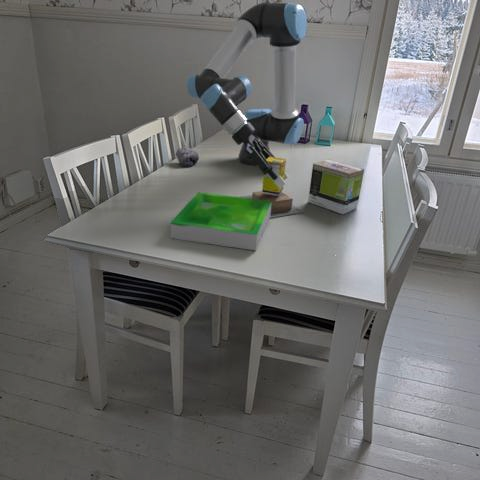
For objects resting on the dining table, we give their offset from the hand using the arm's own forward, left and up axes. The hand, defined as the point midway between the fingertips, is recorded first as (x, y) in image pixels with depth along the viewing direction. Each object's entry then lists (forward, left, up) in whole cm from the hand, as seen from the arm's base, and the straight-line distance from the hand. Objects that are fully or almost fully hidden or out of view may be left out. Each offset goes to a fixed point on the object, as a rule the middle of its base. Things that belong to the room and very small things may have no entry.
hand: (284, 182), depth 140 cm
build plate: (-4, -3, -10) cm, 11 cm away
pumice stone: (-57, -13, -10) cm, 60 cm away
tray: (+6, -25, -10) cm, 27 cm away
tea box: (+4, +19, -10) cm, 22 cm away
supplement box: (-2, -3, -4) cm, 5 cm away
